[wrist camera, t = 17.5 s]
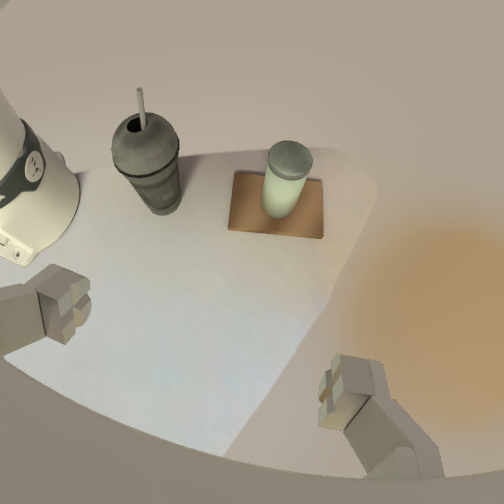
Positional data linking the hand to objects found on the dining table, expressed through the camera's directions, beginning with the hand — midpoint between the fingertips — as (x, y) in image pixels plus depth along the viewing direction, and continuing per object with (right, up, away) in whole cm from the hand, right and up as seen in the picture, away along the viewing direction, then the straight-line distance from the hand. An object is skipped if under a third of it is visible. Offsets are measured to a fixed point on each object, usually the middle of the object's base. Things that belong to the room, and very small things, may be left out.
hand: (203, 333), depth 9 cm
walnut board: (+5, +8, +33) cm, 34 cm away
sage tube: (+5, +9, +32) cm, 33 cm away
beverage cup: (-10, +9, +32) cm, 35 cm away
